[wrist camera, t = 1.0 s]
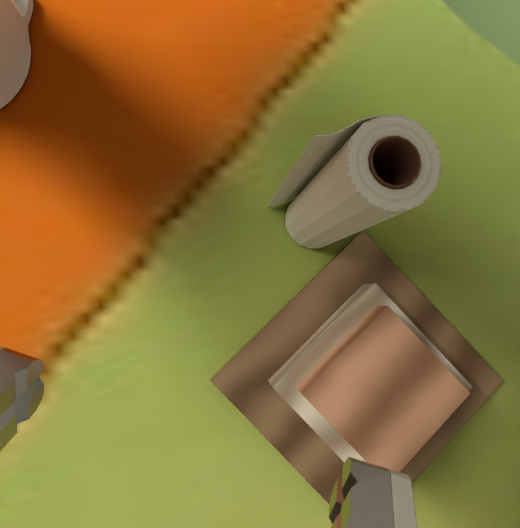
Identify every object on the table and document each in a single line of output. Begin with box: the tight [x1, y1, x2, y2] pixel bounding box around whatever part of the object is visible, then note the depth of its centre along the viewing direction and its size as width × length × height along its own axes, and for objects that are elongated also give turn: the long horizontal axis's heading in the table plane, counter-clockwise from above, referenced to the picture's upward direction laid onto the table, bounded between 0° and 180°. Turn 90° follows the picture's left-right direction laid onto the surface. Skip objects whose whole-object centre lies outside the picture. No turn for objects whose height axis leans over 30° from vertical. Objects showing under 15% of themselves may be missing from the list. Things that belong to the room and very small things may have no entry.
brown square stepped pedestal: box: [211, 231, 503, 504], centre depth 44 cm, size 22×22×8 cm
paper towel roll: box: [267, 115, 441, 249], centre depth 38 cm, size 7×6×21 cm
